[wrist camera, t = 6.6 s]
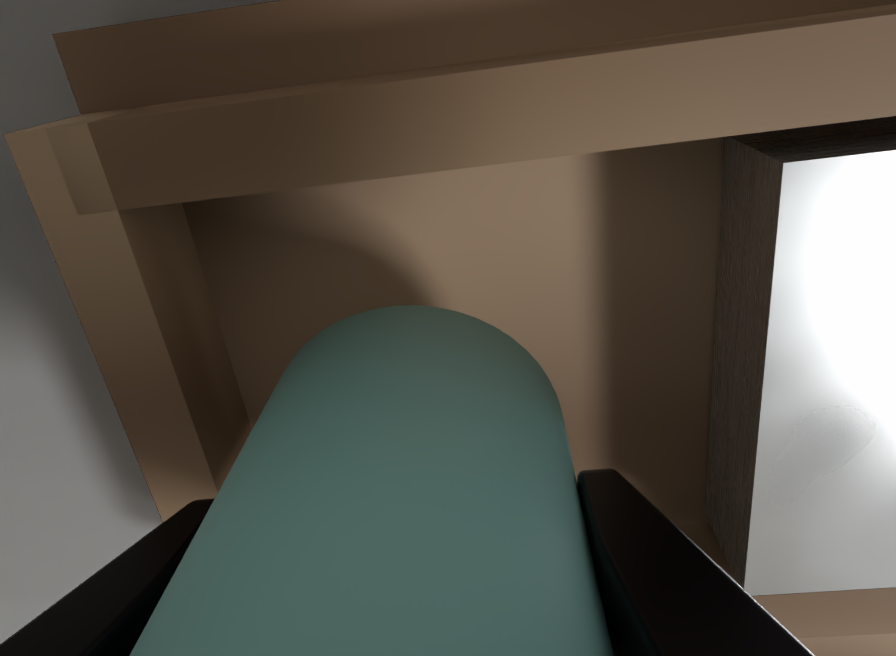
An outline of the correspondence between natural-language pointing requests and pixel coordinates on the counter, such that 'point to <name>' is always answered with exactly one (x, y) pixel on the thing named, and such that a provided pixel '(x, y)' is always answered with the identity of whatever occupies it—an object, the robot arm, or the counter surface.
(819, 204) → the cover slide
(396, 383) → the teal peg
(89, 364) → the counter surface
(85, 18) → the counter surface
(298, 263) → the housing board
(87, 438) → the counter surface
